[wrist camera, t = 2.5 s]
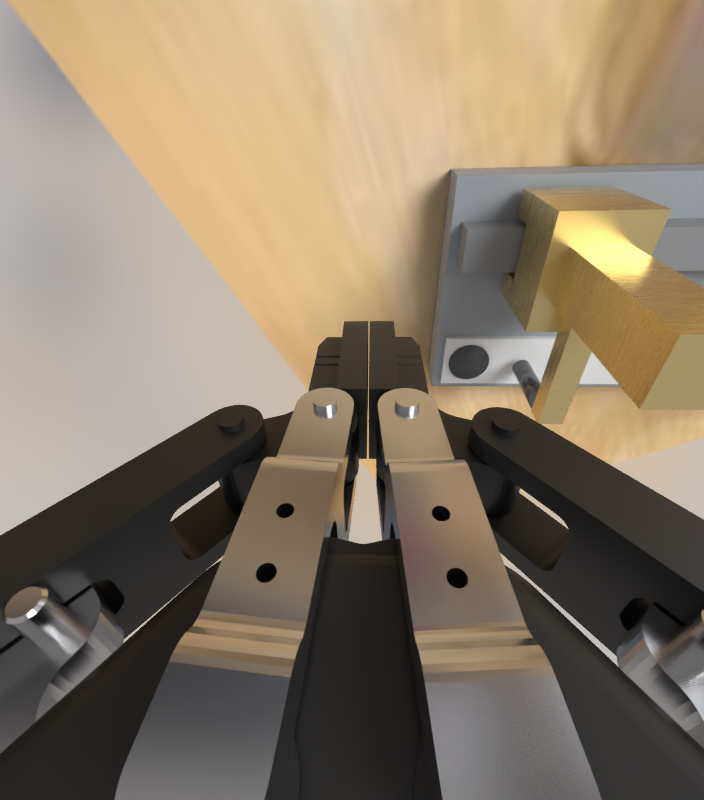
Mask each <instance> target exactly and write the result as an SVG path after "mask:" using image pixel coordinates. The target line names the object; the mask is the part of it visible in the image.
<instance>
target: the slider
mask: <svg viewBox="0 0 704 800" xmlns="http://www.w3.org/2000/svg"><path fill="white" fill-rule="evenodd" d="M671 211H672V209H670V208H667V207H665V206H662V205H660V204H657V203H655V202H652V201H650V200H647V199H645V198H642V197H640V196H637V195H635V194H632V193H629V192H627V191H624V190H622V189H619V188H617V187H614V186H599V187H549V188H523V193H522V197H521V202H520V207H519V211H518V217H519V218H520V219H521V220H522V221H524V222H525V223H526V224H527V225H526V229H525V233H524V237H523V242H522V246H521V250H520V254H519V259H518V263H517V267H516V271H515V272H505V275H504V280H503V284H502V289H501V293H502V295H503V296H504V298H505V300H506V301H507V303H508V304H509V306H510V308H511V309H512V311H513V312H514V314H515V316H516V317H517V319H518V320H519V322H520V323H521V325H522V327H523V328H524V330H525V331H526V332H558V333H557V336H556V339H555V342H554V345H553V348H552V351H551V354H550V357H549V360H548V363H547V365H546V368H545V371H544V374H543V377H542V380H541V383H540V381H539V379H538V377H537V376H536V374H535V372H534V370H533V369H532V367H531V365H530V363H529V362H528V361H527V360H519V361H517V362H515V363H514V365H513V367H512V370H513V372H514V374H515V376H516V378H517V380H518V382H519V384H520V386H521V388H522V390H523V392H524V394H525V396H526V398H527V400H528V402H529V404H530V406H531V408H532V410H531V411H532V413H533V415H534V417H535V420H536V422H537V423H539V424H562V423H563V421H564V418H565V416H566V413H567V411H568V409H569V406H570V404H571V401H572V399H573V396H574V394H575V392H576V389H577V387H578V384H579V382H580V379H581V377H582V374H583V372H584V370H585V367H586V365H587V362H588V360H589V357H590V355H591V353H593V354H594V355H595V356H596V357H597V359H598V360H599V361H600V362H601V363H602V365H603V366H604V367H605V368H606V369H607V371H608V372H609V373H610V374H611V375H612V377H613V378H614V379H615V380H616V381H617V383H618V384H619V385H620V386H621V387H622V389H623V390H624V391H625V392H626V393H627V395H628V396H629V397H630V398H631V399H632V401H633V402H634V403H635V404H636V405H637V407H638V408H639V409H695V410H704V287H702V286H700V285H699V284H697V283H695V282H694V281H692V280H690V279H688V278H687V277H685V276H683V275H682V274H680V273H678V272H677V271H675V270H673V269H672V268H670V267H668V266H667V265H665V264H663V263H662V262H660V261H658V260H657V259H655V258H653V257H651V256H652V254H653V251H654V249H655V247H656V244H657V242H658V240H659V238H660V235H661V233H662V231H663V229H664V226H665V224H666V222H667V220H668V217H669V215H670V213H671Z"/></svg>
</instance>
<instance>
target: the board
mask: <svg viewBox="0 0 704 800" xmlns="http://www.w3.org/2000/svg"><path fill="white" fill-rule="evenodd" d="M599 186H614V187H617V188H619V189H622V190H624V191H627V192H629V193H632V194H635V195H637V196H640V197H642V198H645V199H647V200H650V201H652V202H655V203H657V204H660V205H662V206H665V207H667V208H670V209H672V211H671V213H670V215H669V217H668V220H667V222H666V224H665V226H664V229H663V231H662V233H661V235H660V238H659V240H658V242H657V244H656V247H655V249H654V251H653V254H652V256H651V257H653V258H655V259H657V260H658V261H660V262H662V263H663V264H665V265H667V266H668V267H670V268H672V269H673V270H675V271H677V272H678V273H680V274H682V275H683V276H685V277H687V278H688V279H690V280H692V281H694V282H695V283H697V284H699V285H700V286H702V287H704V163H696V164H652V165H608V166H564V167H520V168H476V169H451V174H450V183H449V192H448V201H447V209H446V218H445V227H444V236H443V244H442V253H441V262H440V271H439V280H438V288H437V297H436V306H435V315H434V324H433V332H432V341H431V350H430V359H429V368H428V369H429V374H430V379H431V384H432V385H433V386H520V384H519V382H518V380H517V378H516V376H515V374H514V372H513V370H512V367H513V365H514V363H515V362H517V361H519V360H527V361H528V362H529V363H530V365H531V367H532V369H533V370H534V372H535V374H536V376H537V377H538V379H539V381H540V383H541V380H542V377H543V374H544V371H545V368H546V365H547V363H548V360H549V357H550V354H551V351H552V348H553V345H554V342H555V339H556V336H557V333H558V332H526V331H525V330H524V328H523V327H522V325H521V323H520V322H519V320H518V319H517V317H516V316H515V314H514V312H513V311H512V309H511V308H510V306H509V304H508V303H507V301H506V300H505V298H504V296H503V295H502V293H501V289H502V284H503V280H504V275H505V272H515V271H516V267H517V263H518V259H519V254H520V250H521V246H522V242H523V237H524V233H525V229H526V225H527V224H526V223H525V222H524V221H522V220H521V219H520V218H519V217H518V211H519V207H520V202H521V197H522V193H523V188H549V187H599ZM578 386H602V387H621V386H620V385H619V384H618V383H617V381H616V380H615V379H614V378H613V377H612V375H611V374H610V373H609V372H608V371H607V369H606V368H605V367H604V366H603V365H602V363H601V362H600V361H599V360H598V359H597V357H596V356H595V355H594V354H593V353H591V355H590V357H589V360H588V362H587V365H586V367H585V370H584V372H583V374H582V377H581V379H580V382H579V384H578Z"/></svg>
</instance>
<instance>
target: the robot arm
mask: <svg viewBox="0 0 704 800" xmlns="http://www.w3.org/2000/svg"><path fill="white" fill-rule="evenodd" d="M367 410H368V321H345V322H344V328H343V335H342V337H327V338H326V339H325V340H324V341H323V342H322V343H321V344H320V345H319V346H318V351H317V355H316V360H315V366H314V369H313V374H312V378H311V383H310V387H309V392H307V393H306V394H304V395H303V396H302V397H300V399H299V400H298V402H297V404H296V406H295V409H294V411H292V412H290V413H288V414H285V415H281V416H277V417H272V418H268V419H263V417H262V414H261V413H260V411H258V410H257V409H255V408H253V407H250V406H246V405H234V406H229V407H225V408H222V409H219V410H217V411H215V412H213V413H212V414H210V415H208V416H206V417H205V418H203V419H201V420H200V421H198V422H196V423H194V424H193V425H191V426H189V427H188V428H186V429H184V430H182V431H181V432H179V433H177V434H175V435H174V436H172V437H170V438H168V439H167V440H165V441H163V442H161V443H160V444H158V445H156V446H155V447H153V448H151V449H150V450H148V451H146V452H144V453H142V454H141V455H139V456H137V457H135V458H134V459H132V460H131V461H129V462H127V463H125V464H123V465H122V466H120V467H118V468H117V469H115V470H113V471H111V472H110V473H108V474H106V475H104V476H103V477H101V478H99V479H97V480H96V481H94V482H92V483H91V484H89V485H87V486H85V487H84V488H82V489H80V490H79V491H77V492H75V493H73V494H72V495H70V496H68V497H66V498H65V499H63V500H61V501H59V502H58V503H56V504H54V505H52V506H51V507H49V508H47V509H46V510H44V511H42V512H40V513H39V514H37V515H35V516H33V517H32V518H30V519H28V520H26V521H25V522H23V523H22V524H20V525H18V526H16V527H14V528H13V529H11V530H10V531H7V532H6V533H4V534H2V535H0V800H704V520H703V519H701V518H700V517H698V516H696V515H695V514H693V513H691V512H689V511H688V510H686V509H684V508H682V507H681V506H679V505H677V504H676V503H674V502H672V501H671V500H669V499H667V498H666V497H664V496H662V495H660V494H659V493H657V492H655V491H654V490H652V489H650V488H648V487H647V486H645V485H643V484H641V483H640V482H638V481H637V480H635V479H633V478H631V477H630V476H628V475H626V474H624V473H623V472H621V471H619V470H618V469H616V468H614V467H612V466H611V465H609V464H607V463H606V462H604V461H602V460H601V459H599V458H597V457H595V456H594V455H592V454H590V453H589V452H587V451H585V450H584V449H582V448H580V447H578V446H577V445H575V444H573V443H572V442H570V441H568V440H566V439H565V438H563V437H561V436H560V435H558V434H556V433H554V432H553V431H551V430H549V429H548V428H546V427H544V426H542V425H541V424H539V423H537V422H536V421H534V420H532V419H531V418H529V417H527V416H525V415H524V414H522V413H520V412H517V411H515V410H511V409H507V408H500V407H493V408H487V409H483V410H481V411H479V412H478V413H476V414H475V416H474V417H473V419H472V420H468V419H464V418H459V417H455V416H452V415H449V414H447V413H445V412H443V411H441V410H439V409H438V408H437V405H436V402H435V400H434V399H433V398H432V397H431V396H430V395H429V394H428V388H427V383H426V378H425V372H424V367H423V362H422V358H421V351H420V346H419V345H418V344H417V343H416V342H415V341H414V340H413V339H412V338H411V337H395V329H394V321H370V361H369V459H376V468H377V473H376V486H377V495H378V505H379V514H380V522H381V523H380V524H381V533H382V541H378V542H374V543H369V544H358V543H354V542H350V541H348V538H349V531H350V524H351V517H352V510H353V503H354V496H355V489H356V475H357V473H358V468H359V459H367ZM216 481H219V484H220V487H219V488H218V489H216V490H215V491H213V492H212V493H211V494H209V495H208V496H206V497H205V498H203V499H202V500H201V501H199V502H198V503H197V504H195V505H194V506H192V507H191V508H190V509H188V510H187V511H185V512H184V513H183V514H181V515H180V516H178V517H177V518H175V519H174V520H173V521H171V522H170V520H171V518H172V516H173V514H174V513H175V512H176V510H177V509H179V508H180V507H181V506H182V505H184V504H185V503H187V502H188V501H189V500H191V499H192V498H193V497H195V496H197V495H198V494H199V493H201V492H202V491H203V490H205V489H206V488H208V487H209V486H211V485H212V484H214V483H215V482H216ZM520 488H521V489H523V490H524V491H525V492H527V493H528V494H530V495H531V496H532V497H534V498H535V499H536V500H538V501H539V502H541V503H542V504H543V505H545V506H546V507H547V508H549V509H550V510H551V511H553V512H554V513H556V514H557V515H558V516H559V517H560V518H561V519H563V521H564V522H565V523H566V525H567V526H568V528H569V529H567V528H566V527H564V526H563V525H562V524H560V523H559V522H557V521H556V520H555V519H554V518H552V517H551V516H550V515H548V514H547V513H546V512H544V511H543V510H541V509H540V508H539V507H537V506H536V505H535V504H533V503H532V502H531V501H529V500H528V499H527V498H525V497H524V496H523V495H521V494H520V493H519V490H520ZM500 553H501V554H503V555H504V556H505V557H506V558H507V559H508V560H509V561H510V562H512V563H513V564H514V565H515V566H516V567H517V568H518V569H519V570H521V571H522V572H523V573H524V574H525V575H526V576H527V577H528V578H529V579H531V580H532V581H533V582H534V583H535V584H536V585H537V586H538V587H540V588H541V589H542V590H543V591H544V592H545V593H546V594H548V595H549V596H550V597H551V598H552V599H553V600H554V601H555V602H557V603H558V604H559V605H560V606H561V607H562V608H563V609H564V610H565V611H567V612H568V613H569V614H570V615H571V616H572V617H573V618H574V619H576V620H577V621H578V622H579V623H580V624H581V625H582V626H583V627H584V628H586V629H587V630H588V631H589V632H590V633H591V634H592V635H593V636H595V637H596V638H597V639H598V640H599V641H600V642H601V643H602V644H604V645H605V646H606V647H607V648H608V649H609V650H610V651H612V652H613V653H614V654H615V655H616V656H617V662H618V666H619V667H618V666H617V665H616V664H615V663H613V662H612V661H611V660H610V659H609V658H608V657H607V656H606V655H605V654H604V653H603V652H602V651H601V650H600V649H599V648H598V647H597V646H595V644H593V643H592V642H591V641H590V640H589V639H588V638H587V637H586V636H585V635H584V634H583V633H582V632H581V631H580V630H579V629H578V628H577V627H576V626H575V625H573V624H572V623H571V622H570V621H569V620H568V619H567V618H566V617H565V616H564V615H563V614H562V613H561V612H560V611H559V610H558V609H556V608H555V607H554V606H553V605H552V604H551V603H550V602H549V601H548V600H547V599H546V598H545V597H544V596H543V595H542V594H541V593H540V592H539V591H538V590H537V589H536V588H534V587H533V586H532V585H531V584H530V583H529V582H528V581H526V580H525V579H524V578H523V577H521V576H520V575H519V574H517V573H516V572H515V571H513V570H512V569H510V568H508V567H507V566H505V565H504V563H503V560H502V558H501V554H500ZM223 555H224V556H223ZM222 556H223V558H222V560H221V561H219V562H218V563H216V564H215V565H213V566H212V567H210V566H211V565H212V564H214V563H215V562H216V561H217V560H218V559H219V558H221V557H222ZM209 567H210V568H209ZM208 568H209V569H208ZM207 569H208V570H207ZM205 570H206V571H205ZM204 571H205V572H204ZM199 575H200V576H199ZM198 576H199V577H198ZM192 581H193V582H192ZM191 582H192V583H191ZM190 583H191V584H190ZM189 584H190V585H189ZM188 585H189V586H188ZM186 586H187V587H186ZM185 587H186V588H185ZM184 588H185V589H184ZM183 589H184V590H183ZM182 590H183V591H182ZM180 591H182V592H181V593H179V592H180ZM178 593H179V594H178ZM177 594H178V595H177ZM176 595H177V596H176ZM175 596H176V597H175ZM173 597H175V598H174V599H173V600H172V601H171V602H169V601H170V600H171V599H172V598H173ZM167 602H169V603H168V604H167V605H166V606H165V607H164V608H163V609H162V610H160V611H159V612H158V613H157V614H156V615H155V616H154V617H153V618H151V619H150V620H149V621H148V622H147V623H146V624H145V625H144V626H143V627H141V628H140V629H139V630H138V631H137V632H136V633H135V634H134V635H132V636H131V637H130V638H129V639H128V640H127V641H126V642H125V643H123V640H124V639H125V638H126V637H127V636H128V635H130V634H131V633H132V632H133V631H134V630H135V629H137V628H138V627H139V626H140V625H141V624H142V623H144V622H145V621H146V620H147V619H149V618H150V617H151V616H152V615H153V614H154V613H156V612H157V611H158V610H159V609H160V608H162V607H163V606H164V605H165V604H166V603H167Z"/></svg>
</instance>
